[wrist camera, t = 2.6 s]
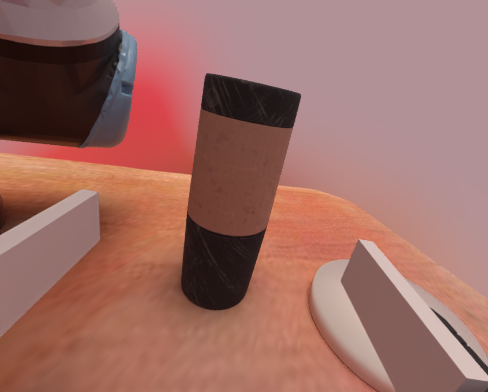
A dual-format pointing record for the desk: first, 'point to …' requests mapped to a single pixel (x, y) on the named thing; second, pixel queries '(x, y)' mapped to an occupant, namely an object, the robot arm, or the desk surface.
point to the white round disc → (352, 331)
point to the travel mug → (233, 185)
